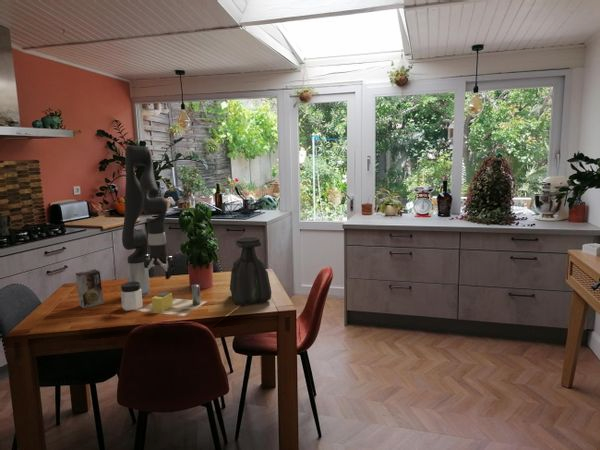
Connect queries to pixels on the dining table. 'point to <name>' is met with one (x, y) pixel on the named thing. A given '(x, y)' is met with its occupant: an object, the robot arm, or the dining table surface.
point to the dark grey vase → (249, 275)
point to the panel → (175, 307)
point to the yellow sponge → (162, 302)
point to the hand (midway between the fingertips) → (159, 278)
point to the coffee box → (89, 288)
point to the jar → (131, 296)
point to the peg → (196, 294)
